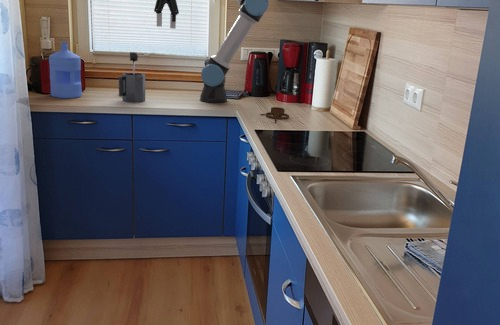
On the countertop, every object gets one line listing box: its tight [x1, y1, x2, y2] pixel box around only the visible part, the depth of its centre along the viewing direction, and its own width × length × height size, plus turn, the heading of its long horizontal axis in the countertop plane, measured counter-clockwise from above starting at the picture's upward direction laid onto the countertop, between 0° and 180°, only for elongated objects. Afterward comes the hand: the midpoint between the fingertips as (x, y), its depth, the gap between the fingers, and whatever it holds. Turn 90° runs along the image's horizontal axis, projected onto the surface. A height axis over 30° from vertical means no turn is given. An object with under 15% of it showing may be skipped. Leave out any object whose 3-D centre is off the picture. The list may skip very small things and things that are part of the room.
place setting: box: [260, 106, 290, 124], centre depth 251 cm, size 18×20×6 cm
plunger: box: [129, 51, 139, 76], centre depth 266 cm, size 8×8×20 cm
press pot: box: [118, 72, 146, 104], centre depth 267 cm, size 14×11×14 cm
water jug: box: [48, 41, 83, 99], centre depth 266 cm, size 16×16×28 cm
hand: (165, 27), depth 262 cm, fingers open, 13 cm apart
